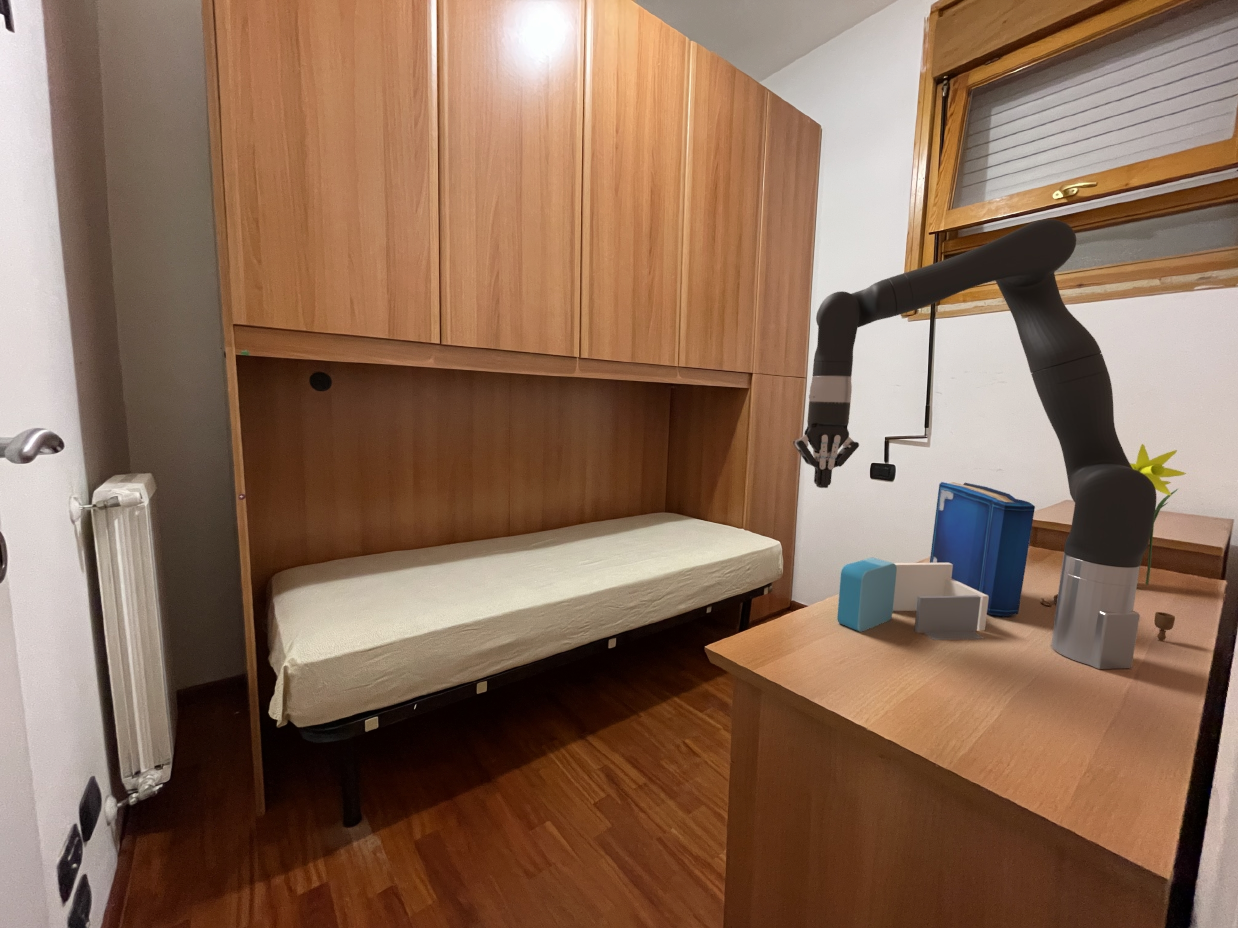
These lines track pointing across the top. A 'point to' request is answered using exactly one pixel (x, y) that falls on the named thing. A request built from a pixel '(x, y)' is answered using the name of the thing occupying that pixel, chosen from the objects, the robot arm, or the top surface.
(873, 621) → the data package
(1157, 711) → the top surface
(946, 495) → the book
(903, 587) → the shelf nook
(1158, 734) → the top surface
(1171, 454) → the daffodil flowers
